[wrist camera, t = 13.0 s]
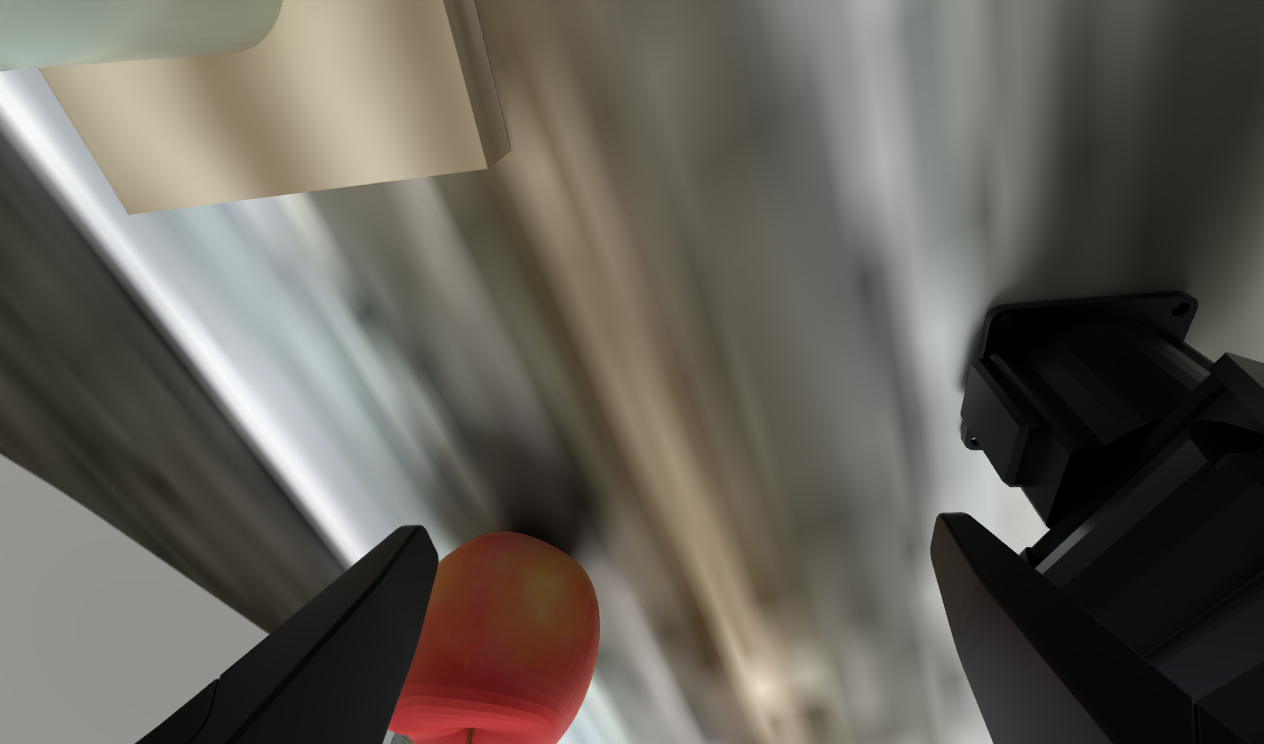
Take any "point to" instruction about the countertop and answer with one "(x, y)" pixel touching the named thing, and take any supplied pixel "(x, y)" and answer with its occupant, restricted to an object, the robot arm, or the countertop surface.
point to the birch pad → (295, 107)
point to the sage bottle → (127, 30)
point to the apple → (501, 646)
